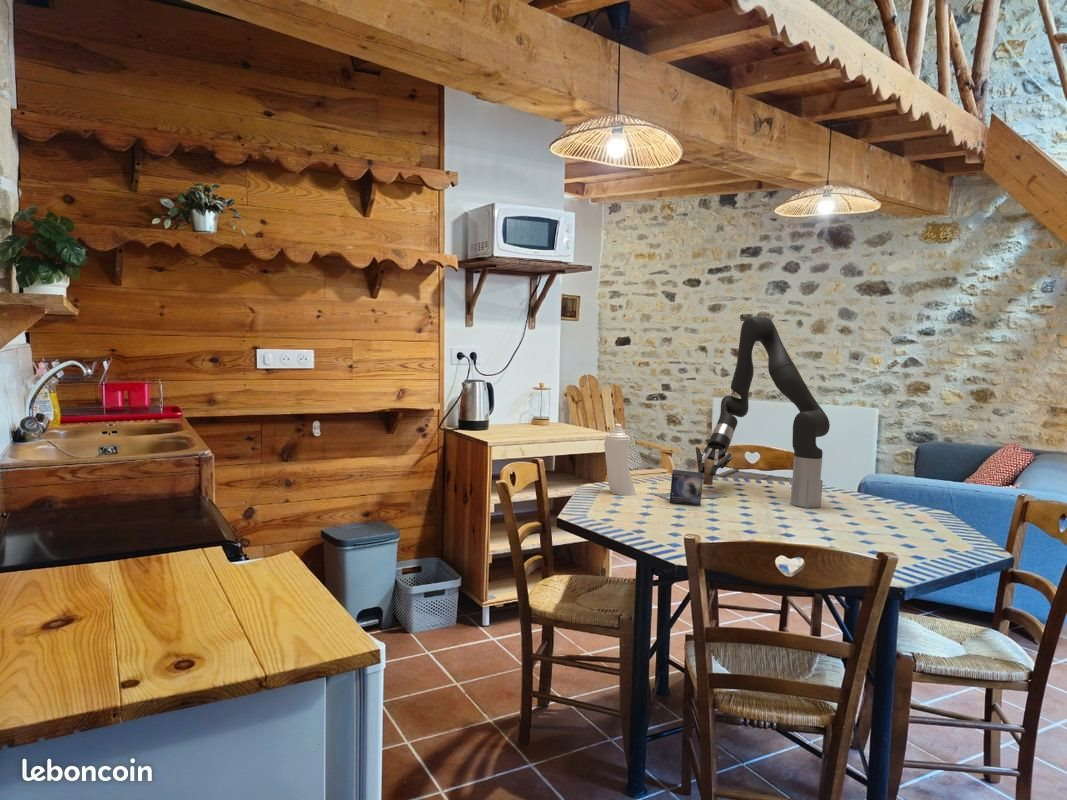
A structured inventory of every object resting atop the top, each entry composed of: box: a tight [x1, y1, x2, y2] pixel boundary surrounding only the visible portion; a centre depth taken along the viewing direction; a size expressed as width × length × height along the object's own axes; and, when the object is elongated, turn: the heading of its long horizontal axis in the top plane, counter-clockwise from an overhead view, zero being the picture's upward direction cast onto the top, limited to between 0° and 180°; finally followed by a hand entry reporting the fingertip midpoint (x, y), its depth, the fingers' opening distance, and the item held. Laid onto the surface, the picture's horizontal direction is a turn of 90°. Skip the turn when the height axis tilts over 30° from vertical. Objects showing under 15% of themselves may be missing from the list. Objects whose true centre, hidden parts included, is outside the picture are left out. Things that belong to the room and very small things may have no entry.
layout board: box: [653, 490, 728, 502], centre depth 253 cm, size 10×25×1 cm, turn 113°
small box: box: [669, 469, 704, 507], centre depth 241 cm, size 11×6×10 cm, turn 77°
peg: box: [702, 459, 714, 486], centre depth 258 cm, size 3×3×9 cm
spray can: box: [603, 423, 637, 497], centre depth 253 cm, size 12×11×25 cm
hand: (706, 474), depth 256 cm, fingers closed on peg, 3 cm apart
